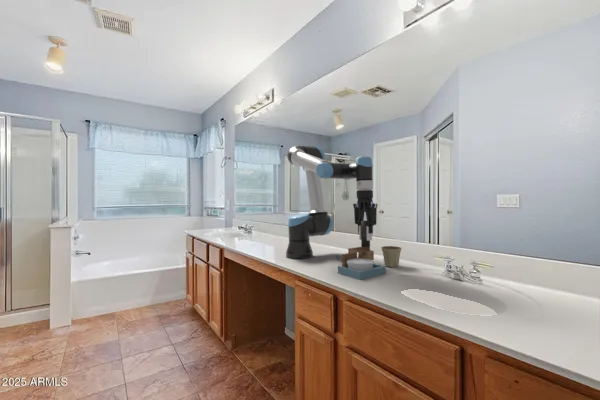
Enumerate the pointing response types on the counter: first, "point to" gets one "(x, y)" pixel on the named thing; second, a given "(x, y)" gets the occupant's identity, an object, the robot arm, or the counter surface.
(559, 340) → the counter surface
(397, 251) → the flower pot
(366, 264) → the ramekin
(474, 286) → the counter surface
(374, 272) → the frame
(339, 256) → the rail
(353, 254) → the pusher
